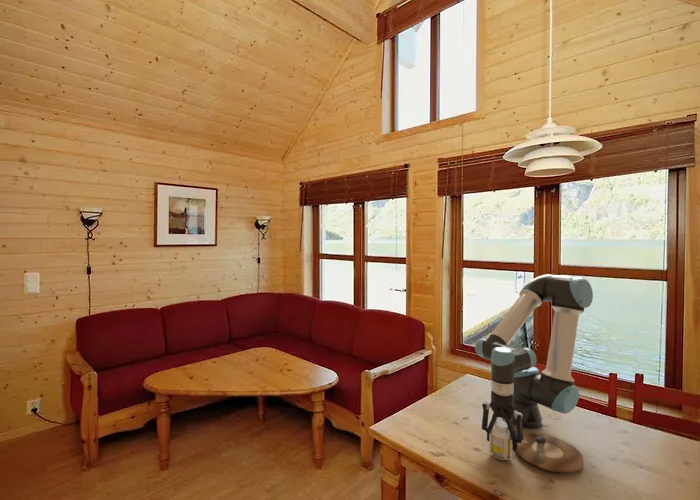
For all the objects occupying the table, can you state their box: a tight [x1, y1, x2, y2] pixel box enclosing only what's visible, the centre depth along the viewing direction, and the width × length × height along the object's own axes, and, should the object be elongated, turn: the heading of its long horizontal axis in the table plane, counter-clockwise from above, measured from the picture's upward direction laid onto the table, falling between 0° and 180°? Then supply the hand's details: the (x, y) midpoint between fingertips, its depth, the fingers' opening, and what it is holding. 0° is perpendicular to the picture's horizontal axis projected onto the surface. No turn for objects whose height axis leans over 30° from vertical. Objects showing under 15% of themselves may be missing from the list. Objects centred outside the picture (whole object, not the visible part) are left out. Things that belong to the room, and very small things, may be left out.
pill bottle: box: [491, 420, 512, 461], centre depth 130 cm, size 6×6×12 cm
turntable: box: [515, 432, 584, 474], centre depth 131 cm, size 22×22×9 cm
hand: (501, 454), depth 130 cm, fingers closed on pill bottle, 6 cm apart
